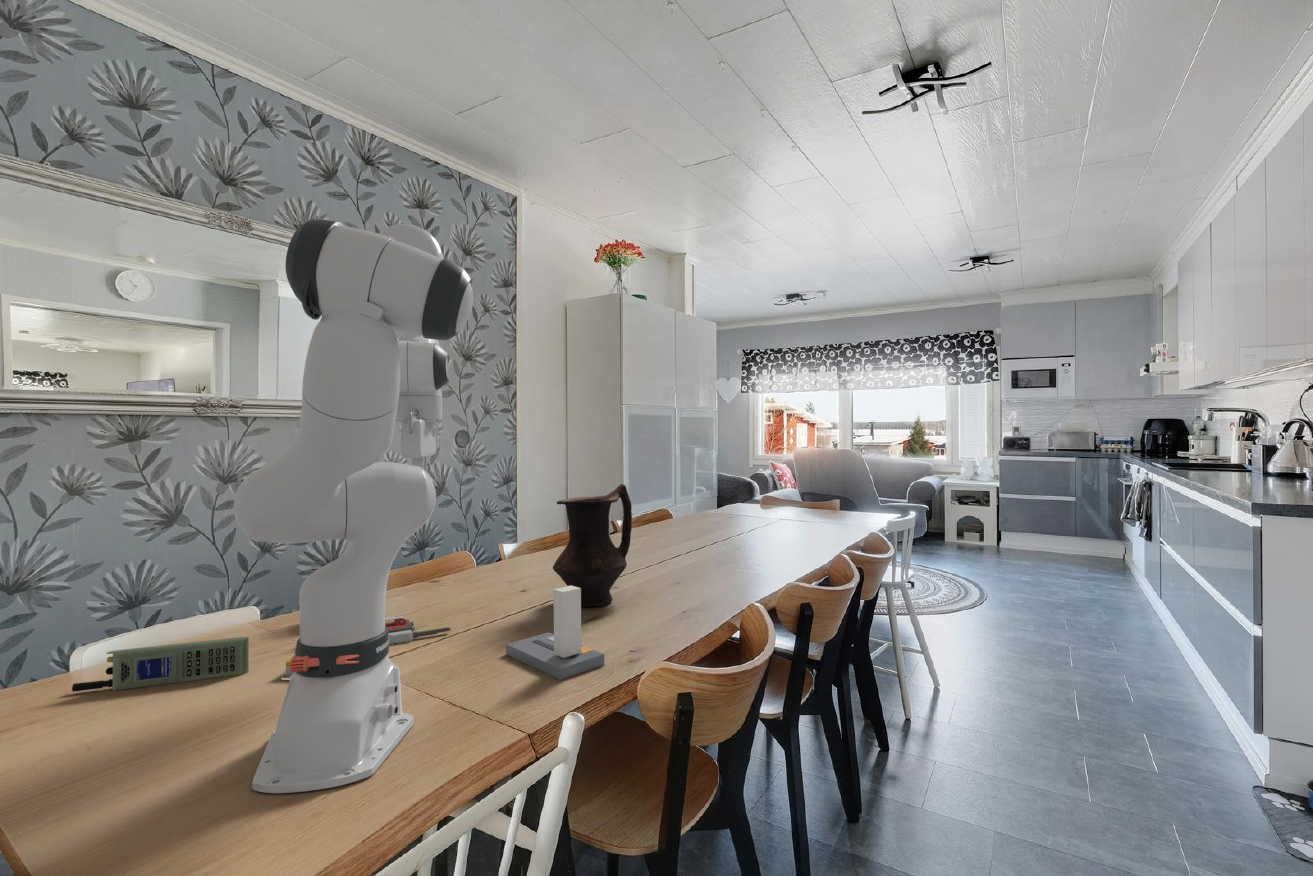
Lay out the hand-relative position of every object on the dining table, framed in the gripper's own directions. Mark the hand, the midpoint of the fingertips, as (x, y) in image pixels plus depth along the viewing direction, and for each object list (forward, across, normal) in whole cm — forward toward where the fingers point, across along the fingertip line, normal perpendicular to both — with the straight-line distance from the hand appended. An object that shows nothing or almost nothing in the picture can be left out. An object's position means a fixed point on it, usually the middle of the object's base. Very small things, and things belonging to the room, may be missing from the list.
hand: (420, 479), depth 123 cm
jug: (+34, +25, -38) cm, 57 cm away
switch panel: (+34, -13, -26) cm, 45 cm away
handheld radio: (+34, -8, +42) cm, 55 cm away
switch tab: (+32, -17, -28) cm, 46 cm away
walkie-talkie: (+35, +8, +6) cm, 36 cm away
